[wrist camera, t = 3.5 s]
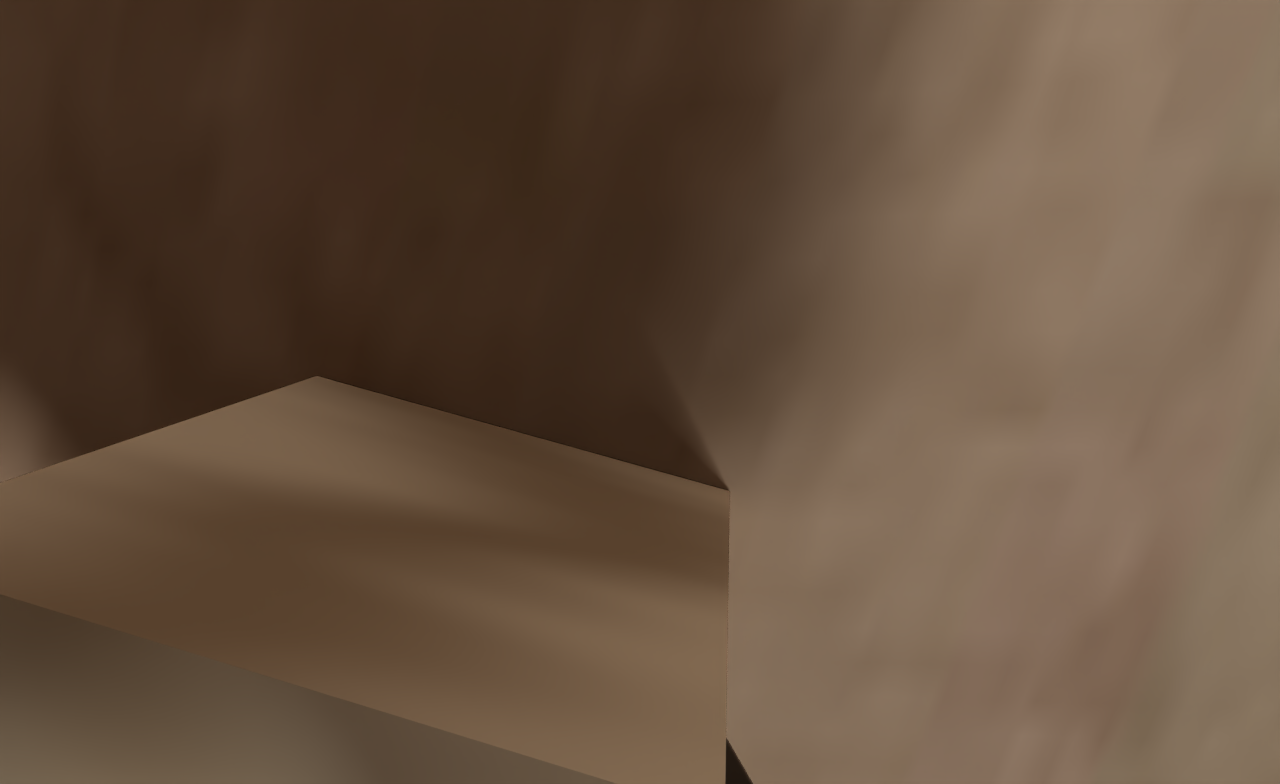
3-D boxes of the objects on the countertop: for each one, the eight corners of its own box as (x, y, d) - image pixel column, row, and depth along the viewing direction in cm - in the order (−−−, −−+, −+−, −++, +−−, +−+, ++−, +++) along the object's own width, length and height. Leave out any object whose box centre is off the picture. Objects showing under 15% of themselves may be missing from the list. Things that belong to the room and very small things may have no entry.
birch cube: (730, 490, 9) (724, 816, 4) (625, 849, 10) (517, 1453, 5) (316, 376, 9) (-172, 541, 4) (260, 736, 10) (-180, 1199, 5)
